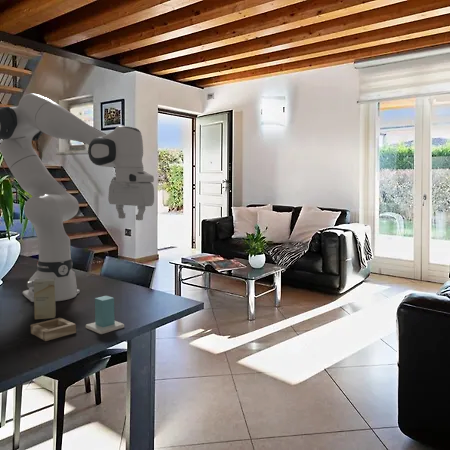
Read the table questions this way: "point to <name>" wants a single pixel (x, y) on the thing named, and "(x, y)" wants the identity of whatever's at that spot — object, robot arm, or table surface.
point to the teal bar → (104, 311)
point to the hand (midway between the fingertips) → (130, 219)
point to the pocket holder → (53, 329)
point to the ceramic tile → (104, 329)
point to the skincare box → (44, 298)
